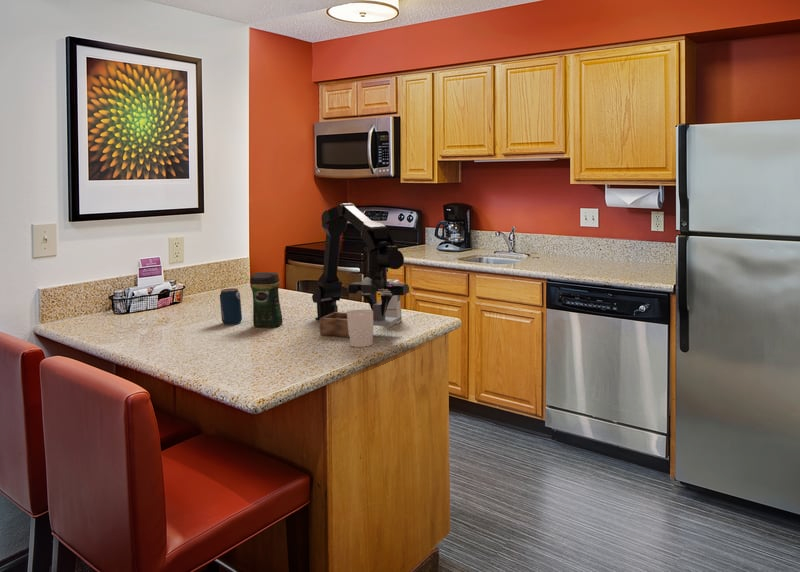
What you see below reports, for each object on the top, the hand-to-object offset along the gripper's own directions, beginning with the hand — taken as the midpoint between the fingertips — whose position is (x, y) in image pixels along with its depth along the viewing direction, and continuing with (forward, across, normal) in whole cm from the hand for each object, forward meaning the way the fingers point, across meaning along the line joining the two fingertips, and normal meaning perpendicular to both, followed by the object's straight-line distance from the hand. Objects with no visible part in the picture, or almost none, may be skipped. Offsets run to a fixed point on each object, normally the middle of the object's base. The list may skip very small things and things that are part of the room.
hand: (379, 315), depth 192 cm
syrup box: (+7, -4, +18) cm, 19 cm away
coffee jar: (+7, -44, +3) cm, 44 cm away
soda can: (+7, -58, +3) cm, 59 cm away
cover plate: (+2, 0, 0) cm, 2 cm away
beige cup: (+7, -1, -11) cm, 13 cm away
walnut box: (+6, -12, 0) cm, 14 cm away
